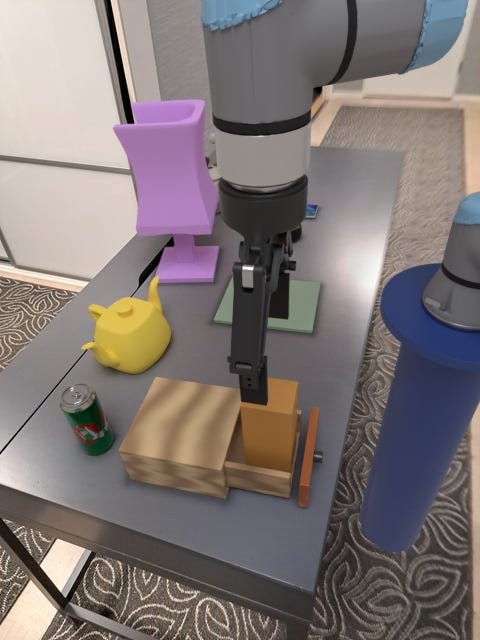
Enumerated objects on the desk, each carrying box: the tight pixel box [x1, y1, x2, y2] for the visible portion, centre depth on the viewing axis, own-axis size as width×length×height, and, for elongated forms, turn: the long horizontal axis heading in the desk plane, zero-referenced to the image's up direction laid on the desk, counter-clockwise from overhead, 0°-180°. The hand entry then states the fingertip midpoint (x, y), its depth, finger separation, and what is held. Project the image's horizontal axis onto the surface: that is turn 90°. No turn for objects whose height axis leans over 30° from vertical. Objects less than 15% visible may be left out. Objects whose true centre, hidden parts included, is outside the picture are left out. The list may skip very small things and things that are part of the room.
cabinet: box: [117, 376, 241, 500], centre depth 66 cm, size 15×14×8 cm
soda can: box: [59, 382, 115, 456], centre depth 66 cm, size 5×5×12 cm
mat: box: [213, 275, 322, 334], centre depth 94 cm, size 20×16×1 cm
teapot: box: [80, 276, 172, 375], centre depth 83 cm, size 22×16×11 cm
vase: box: [112, 98, 220, 284], centre depth 95 cm, size 16×16×35 cm
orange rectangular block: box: [240, 377, 299, 473], centre depth 60 cm, size 6×5×14 cm
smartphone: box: [304, 203, 319, 219], centre depth 124 cm, size 7×1×15 cm
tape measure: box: [291, 223, 303, 242], centre depth 112 cm, size 7×7×4 cm
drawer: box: [223, 406, 324, 509], centre depth 63 cm, size 15×12×6 cm
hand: (267, 354), depth 50 cm, fingers open, 13 cm apart
